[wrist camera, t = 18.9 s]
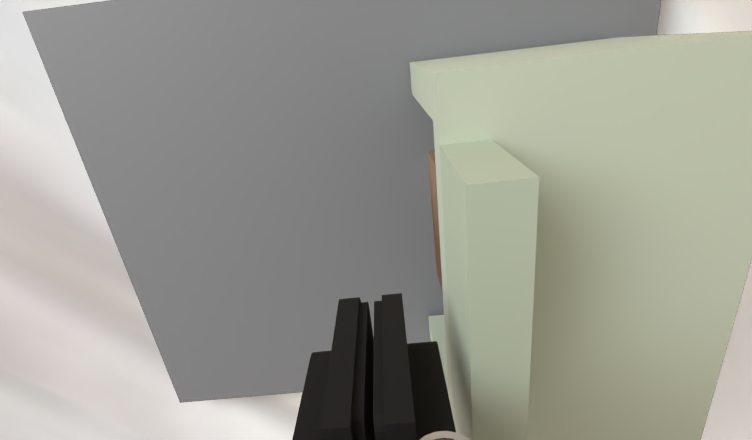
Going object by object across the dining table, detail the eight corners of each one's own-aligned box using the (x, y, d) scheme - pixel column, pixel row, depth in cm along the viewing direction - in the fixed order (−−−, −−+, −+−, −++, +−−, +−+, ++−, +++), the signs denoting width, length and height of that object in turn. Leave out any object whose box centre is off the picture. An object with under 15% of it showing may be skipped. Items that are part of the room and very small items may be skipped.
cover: (587, 320, 20) (776, 563, 11) (429, 335, 21) (476, 582, 11) (619, 37, 15) (1030, 16, 6) (409, 62, 16) (463, 83, 6)
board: (597, 350, 23) (655, 429, 18) (189, 386, 24) (142, 469, 19) (650, -65, 15) (775, -116, 11) (46, 14, 16) (-90, 0, 12)
